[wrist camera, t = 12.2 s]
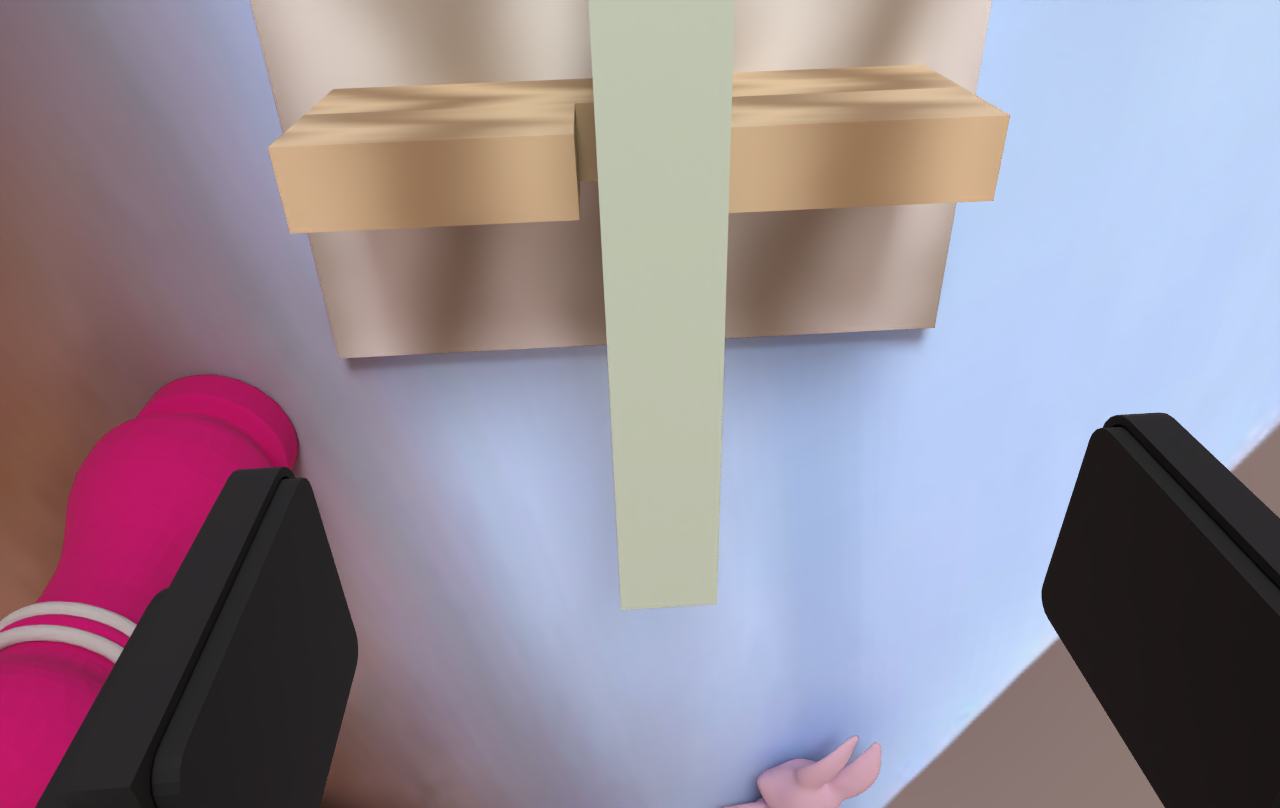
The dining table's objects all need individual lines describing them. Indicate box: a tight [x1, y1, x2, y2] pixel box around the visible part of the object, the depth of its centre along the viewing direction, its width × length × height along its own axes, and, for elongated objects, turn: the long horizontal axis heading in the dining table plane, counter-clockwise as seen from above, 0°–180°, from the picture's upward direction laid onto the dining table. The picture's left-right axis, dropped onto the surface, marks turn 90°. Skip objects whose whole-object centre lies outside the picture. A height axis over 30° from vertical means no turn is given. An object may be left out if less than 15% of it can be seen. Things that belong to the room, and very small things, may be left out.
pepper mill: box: [0, 375, 298, 808], centre depth 28 cm, size 7×7×20 cm
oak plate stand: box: [250, 0, 1010, 358], centre depth 27 cm, size 24×18×8 cm
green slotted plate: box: [588, 0, 735, 610], centre depth 23 cm, size 17×2×15 cm, turn 1°
